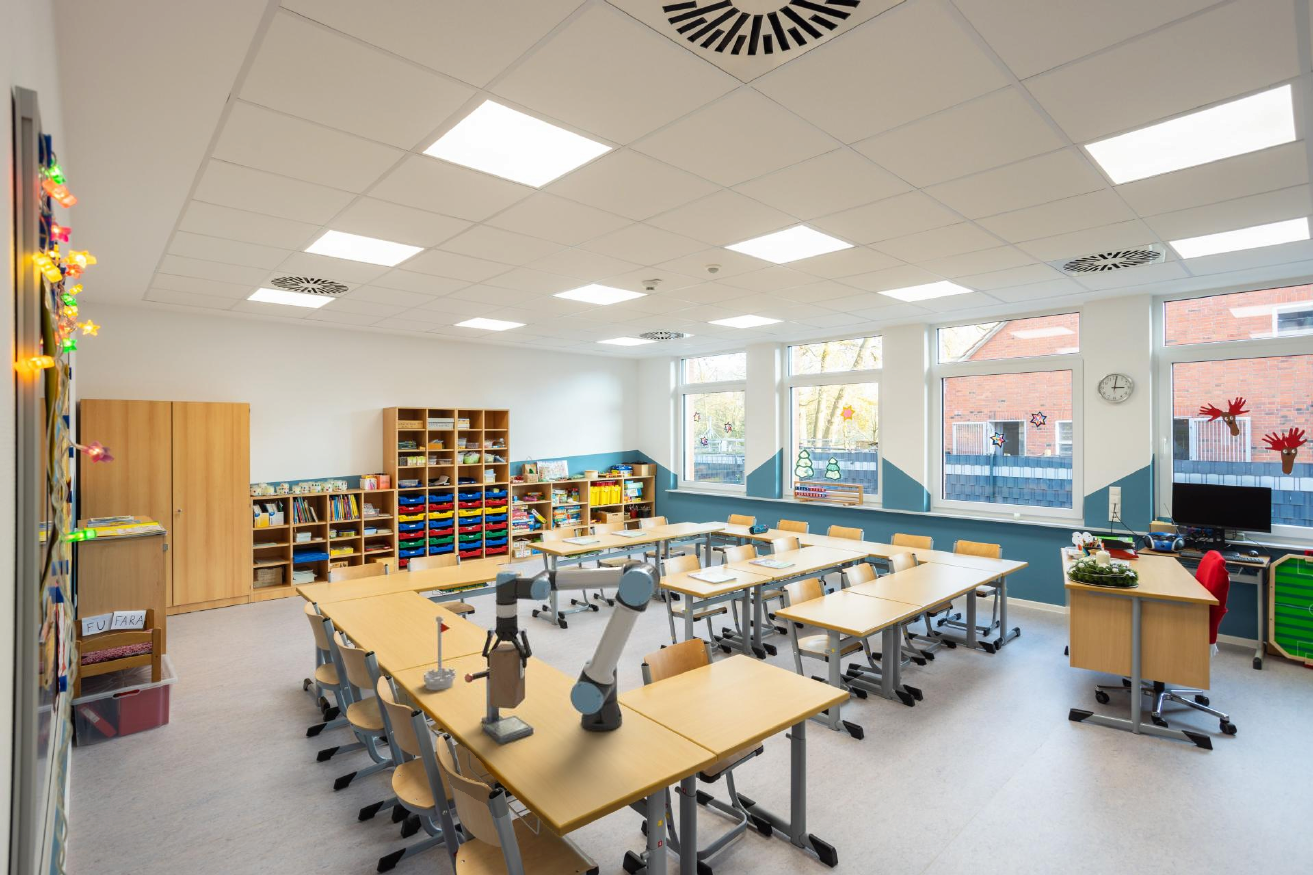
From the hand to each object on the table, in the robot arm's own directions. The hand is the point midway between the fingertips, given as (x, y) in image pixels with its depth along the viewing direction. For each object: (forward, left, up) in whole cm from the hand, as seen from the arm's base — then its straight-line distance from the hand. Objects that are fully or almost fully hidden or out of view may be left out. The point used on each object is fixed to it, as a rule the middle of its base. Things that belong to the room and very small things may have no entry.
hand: (507, 676), depth 229 cm
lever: (+12, +1, -6) cm, 13 cm away
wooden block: (0, 0, -10) cm, 10 cm away
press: (+4, 0, -20) cm, 21 cm away
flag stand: (+61, +1, -20) cm, 64 cm away
